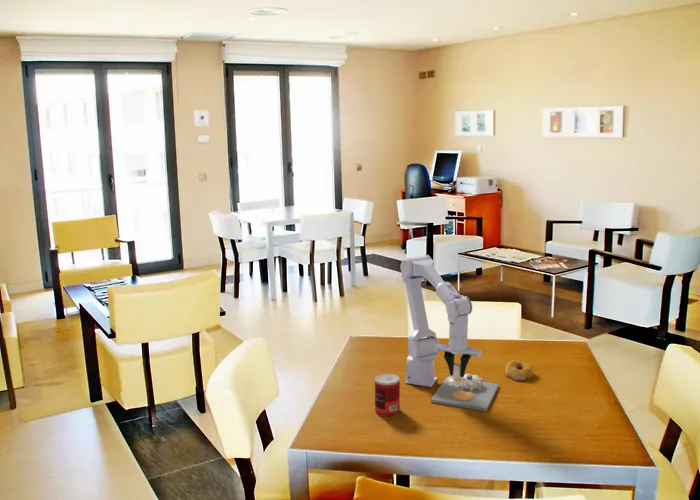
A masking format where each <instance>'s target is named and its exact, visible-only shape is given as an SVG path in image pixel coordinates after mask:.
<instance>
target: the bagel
mask: <svg viewBox="0 0 700 500" xmlns="http://www.w3.org/2000/svg"><path fill="white" fill-rule="evenodd" d="M504 373H505V375H506V377H508V378H510V379H512V380H513V381H515V382H516V381H517V382H518V381H525V380H530V379H531V378H533V377H534V376H535V373H534V371H533V367H532V366H531V364H529V363H528V362H525V361H522V360H519V359H511V360H510V361H508V362H507V363H506V365H505V369H504Z"/></svg>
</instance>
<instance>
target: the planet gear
mask: <svg viewBox="0 0 700 500" xmlns="http://www.w3.org/2000/svg"><path fill="white" fill-rule="evenodd" d="M447 377H448V378H446V377H445V378H446V383H449V385H450V386H452V385H453V386H456V387H459V386H466V383H468V379H465V377H464V376H463V377H461V362H454V363H453V375H452V376H451V375H449V376H447Z"/></svg>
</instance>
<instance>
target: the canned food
mask: <svg viewBox="0 0 700 500" xmlns="http://www.w3.org/2000/svg"><path fill="white" fill-rule="evenodd" d="M400 380H401V379H400V376H399V375H396V374H395V373H382V374H381V373H380V374H378V375H376V376H375V378H374V410H375V413H376V414H377V415H380V416H383V417H391V416H394V415H397V414H398V413H399V412H400V402H401V401H400V397H401V396H400V395H401V394H400V393H401V392H400V391H401V390H400V388H401V387H400V386H401V385H400V384H401V383H400Z"/></svg>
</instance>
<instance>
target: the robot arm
mask: <svg viewBox="0 0 700 500" xmlns="http://www.w3.org/2000/svg"><path fill="white" fill-rule="evenodd" d="M434 261H435V260H433V259H432V258H431V256H430V255H429V254H425V255H421V256H412V257H404V258H403V259H402V261H401V263H400V266H399V268H400V272H401V277H402V282H403V283H404V284H405V285H404V286H405V290H406V296H407V301H408V307H409V312H410V317H411V323H412V327H413V331H412V332H411V334H409V336H408V338H407V341H408V342H407V343H408V345H407V351H408V354H409V355H408V357H407V358H406V362H405V381H404V383H405V384H410V385H417V386H422V387H427V388H428V387H429V388H431V387H433V386H434V384H435V383H436V381H437V380H438V377H437V376H435V358H437V355H438V354H439V352H440V353H441V352H442V353H444V355H443V358H444V360H445V363H446V364H447V366H448V371H449V376H453V363H455V355H461V356H460V358H459V359H460V363H461V377H463V376H464V375H466V373H465V372H466V370H467V366H468V364H469V361H470V359H471V357H476V358H477V359H478V358H479V359H480V358H481V356H482V349H476V348H473V347H470V346H468V331H469V330H468V329H469V328H468V326H469V325H468V324H469V315H471V314H472V311H473V304H472V301H471V299H470V298H469V297H468V296H466V295H465V296H464V295H463V294H460V293H459V292H458V290H457V289H456V288H455V287H454V286H453V284H452V283H451V282H449V281H444V280H443V278H442V277H441V274H440V273H439V272H438V271H437V270H436V268H435V262H434ZM425 279H426V280H427V281H428V282H429V283H430V285H432V286H433V287H434V288H435V294H436V296H437V297H438V298H439V299H440V301H441V302H442V303H443V304H444V305H445V312H446V314H447V320H448V323H449V324H448V325H449V326H448V327H449V328H448V329H449V331H448V344H443V343H442V344H440V341H439V340H438V337H437V334H436V332H435V331H433V330H431V328H430V327H429V324H428V323H429V322H428V317H427V316H428V315H427V312H426V306H425V301H424V296H423V295H424V294H423V292H422V291H423V290H422V285H421V284H422V282H423V281H424V280H425Z"/></svg>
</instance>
